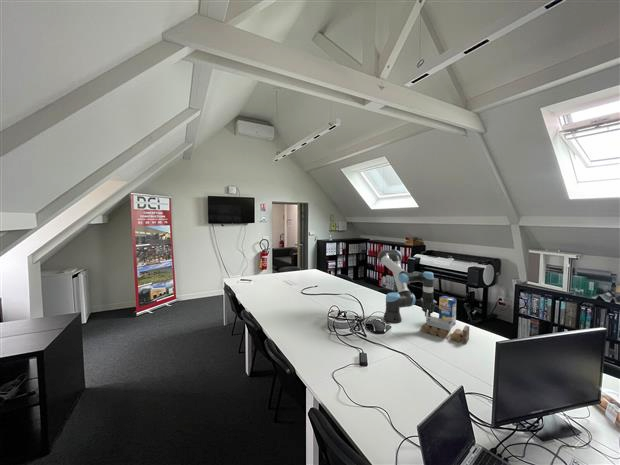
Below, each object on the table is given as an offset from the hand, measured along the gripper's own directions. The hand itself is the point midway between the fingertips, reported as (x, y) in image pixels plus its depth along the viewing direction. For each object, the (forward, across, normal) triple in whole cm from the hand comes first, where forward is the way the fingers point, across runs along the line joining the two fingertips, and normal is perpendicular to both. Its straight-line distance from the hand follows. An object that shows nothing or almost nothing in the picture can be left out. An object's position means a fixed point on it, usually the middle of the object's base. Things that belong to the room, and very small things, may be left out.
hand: (427, 320), depth 199 cm
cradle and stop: (+8, +20, 0) cm, 22 cm away
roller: (+4, +18, 0) cm, 19 cm away
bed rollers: (+8, +6, 0) cm, 10 cm away
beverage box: (+8, +8, +26) cm, 29 cm away
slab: (+2, +9, 0) cm, 9 cm away
